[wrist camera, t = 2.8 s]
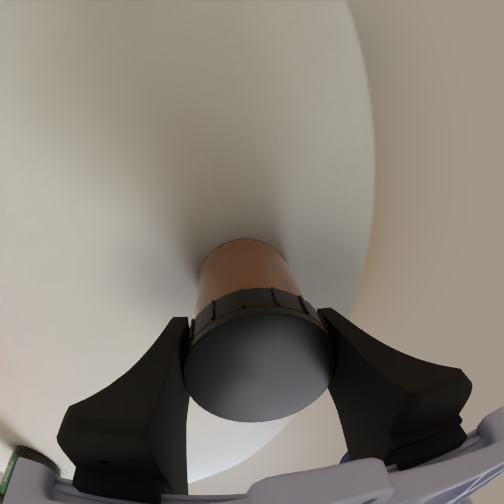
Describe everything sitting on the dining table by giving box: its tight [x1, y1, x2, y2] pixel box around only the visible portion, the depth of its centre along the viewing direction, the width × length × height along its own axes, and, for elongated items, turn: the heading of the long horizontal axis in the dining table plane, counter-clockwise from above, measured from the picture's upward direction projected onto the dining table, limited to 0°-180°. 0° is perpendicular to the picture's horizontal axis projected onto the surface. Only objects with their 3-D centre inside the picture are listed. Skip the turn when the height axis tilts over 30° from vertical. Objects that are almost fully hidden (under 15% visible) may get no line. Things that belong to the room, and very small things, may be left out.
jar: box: [195, 239, 304, 318], centre depth 14 cm, size 5×5×7 cm
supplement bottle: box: [0, 447, 61, 504], centre depth 19 cm, size 7×7×12 cm
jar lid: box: [182, 287, 337, 422], centre depth 11 cm, size 6×6×2 cm
